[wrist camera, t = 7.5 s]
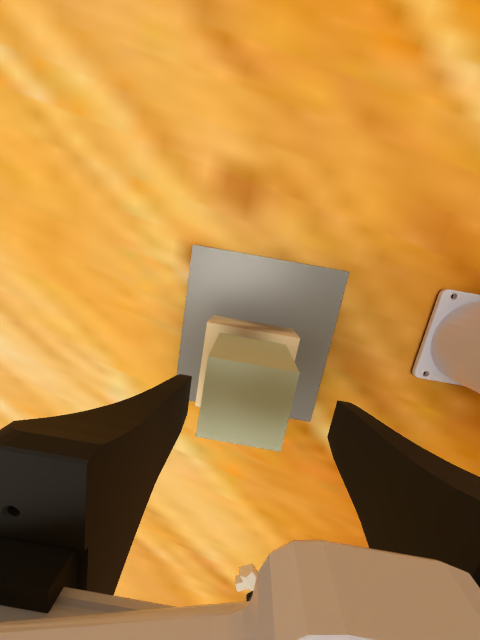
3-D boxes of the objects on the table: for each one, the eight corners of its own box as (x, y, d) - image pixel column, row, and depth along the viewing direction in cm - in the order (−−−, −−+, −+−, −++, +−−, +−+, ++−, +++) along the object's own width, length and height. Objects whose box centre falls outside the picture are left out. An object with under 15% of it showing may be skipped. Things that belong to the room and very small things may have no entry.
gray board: (345, 271, 20) (349, 271, 19) (308, 416, 23) (310, 421, 22) (194, 245, 20) (192, 244, 19) (176, 393, 23) (173, 397, 22)
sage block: (285, 344, 17) (299, 372, 13) (272, 404, 18) (280, 451, 14) (219, 332, 17) (208, 356, 13) (209, 392, 18) (195, 436, 14)
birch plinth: (292, 328, 20) (300, 338, 17) (276, 400, 22) (280, 421, 19) (213, 314, 20) (207, 322, 17) (202, 387, 22) (194, 406, 19)
